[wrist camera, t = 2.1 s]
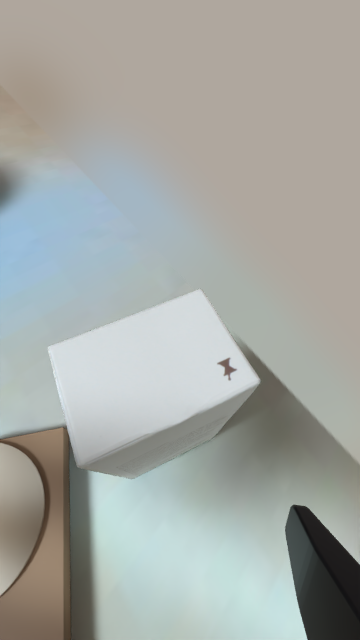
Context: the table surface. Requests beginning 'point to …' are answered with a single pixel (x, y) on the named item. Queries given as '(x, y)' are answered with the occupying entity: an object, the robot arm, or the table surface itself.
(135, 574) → the table surface
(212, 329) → the skincare box
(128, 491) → the table surface
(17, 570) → the walnut board
